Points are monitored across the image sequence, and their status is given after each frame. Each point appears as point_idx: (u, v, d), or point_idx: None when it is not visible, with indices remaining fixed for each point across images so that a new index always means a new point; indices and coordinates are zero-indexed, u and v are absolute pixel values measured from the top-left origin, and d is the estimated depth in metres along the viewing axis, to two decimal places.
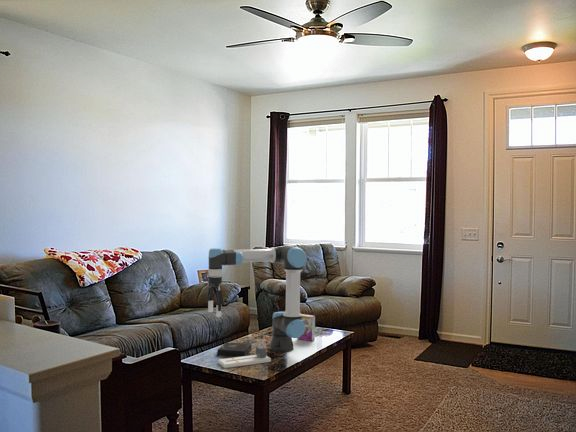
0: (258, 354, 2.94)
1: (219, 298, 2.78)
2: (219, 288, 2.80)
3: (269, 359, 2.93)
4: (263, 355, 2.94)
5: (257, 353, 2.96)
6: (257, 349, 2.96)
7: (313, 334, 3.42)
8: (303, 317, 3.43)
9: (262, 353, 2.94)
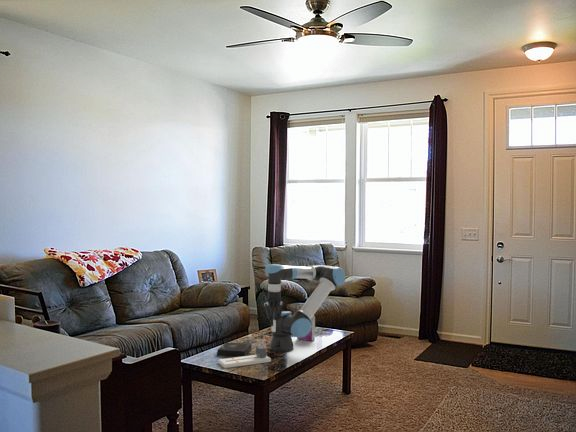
0: (258, 354, 2.94)
1: (266, 314, 2.98)
2: (264, 305, 2.96)
3: (269, 359, 2.93)
4: (263, 355, 2.94)
5: (257, 353, 2.96)
6: (257, 349, 2.96)
7: (313, 334, 3.42)
8: None
9: (262, 353, 2.94)
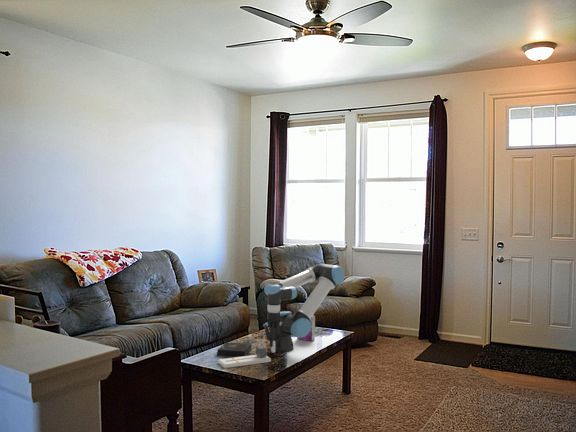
0: (258, 354, 2.94)
1: (266, 335, 2.98)
2: (264, 326, 2.97)
3: (269, 359, 2.93)
4: (263, 355, 2.94)
5: (257, 353, 2.96)
6: (257, 349, 2.96)
7: (313, 334, 3.42)
8: None
9: (262, 353, 2.94)
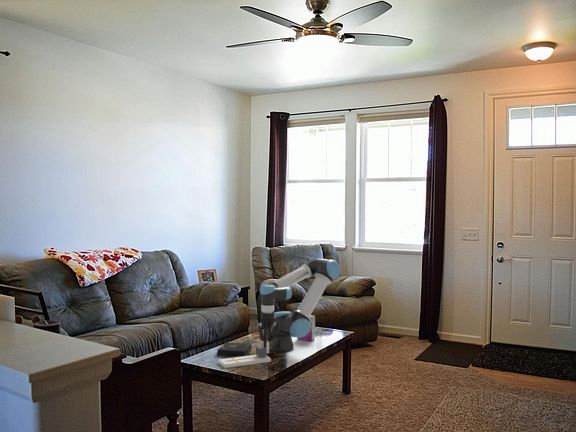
0: (258, 354, 2.94)
1: (260, 335, 2.96)
2: (258, 326, 2.95)
3: (269, 359, 2.93)
4: (263, 355, 2.94)
5: (257, 353, 2.96)
6: (257, 349, 2.96)
7: (313, 334, 3.42)
8: None
9: (262, 353, 2.94)
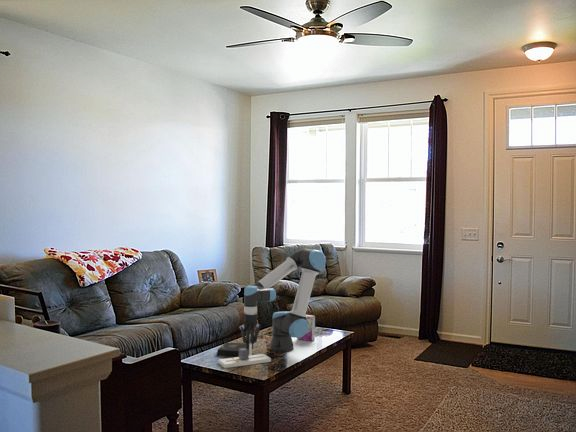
0: (240, 356, 2.89)
1: (242, 337, 2.91)
2: (240, 328, 2.90)
3: (269, 359, 2.93)
4: (245, 357, 2.89)
5: (239, 355, 2.91)
6: (239, 351, 2.91)
7: (313, 334, 3.42)
8: None
9: (245, 355, 2.89)
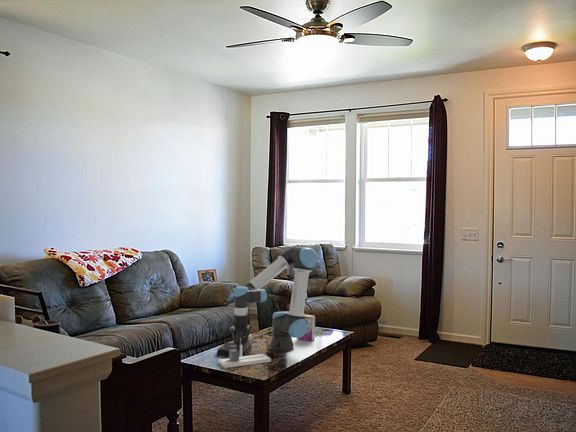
0: (231, 358, 2.87)
1: (233, 338, 2.88)
2: (230, 329, 2.87)
3: (269, 359, 2.93)
4: (236, 359, 2.86)
5: (230, 356, 2.88)
6: (230, 352, 2.88)
7: (313, 334, 3.42)
8: None
9: (235, 357, 2.86)
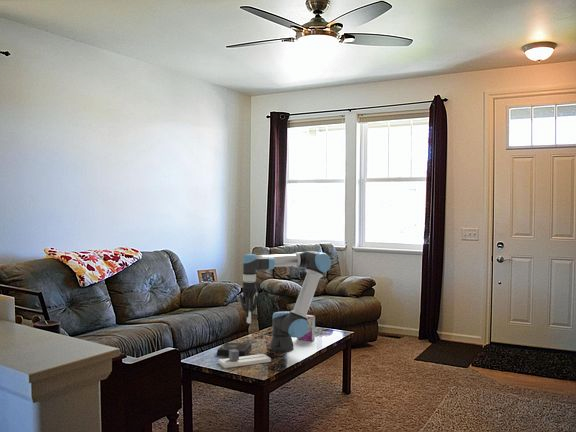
0: (231, 358, 2.87)
1: (241, 305, 2.91)
2: (239, 296, 2.89)
3: (269, 359, 2.93)
4: (236, 359, 2.86)
5: (230, 356, 2.88)
6: (230, 352, 2.88)
7: (313, 334, 3.42)
8: None
9: (235, 357, 2.86)
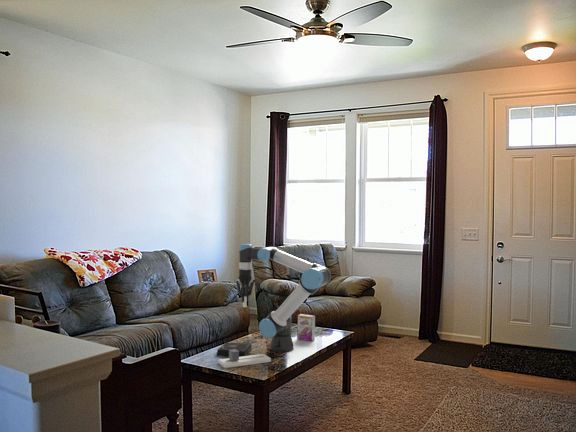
0: (231, 358, 2.87)
1: (238, 290, 3.16)
2: (236, 282, 3.15)
3: (269, 359, 2.93)
4: (236, 359, 2.86)
5: (230, 356, 2.88)
6: (230, 352, 2.88)
7: (313, 334, 3.42)
8: (303, 317, 3.43)
9: (235, 357, 2.86)
